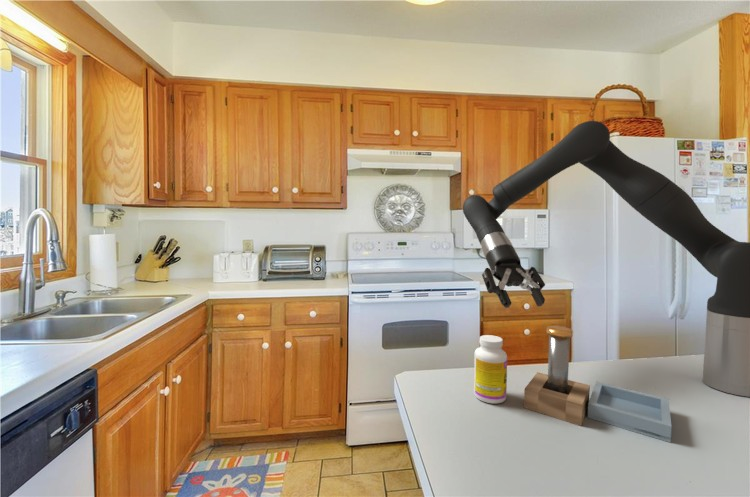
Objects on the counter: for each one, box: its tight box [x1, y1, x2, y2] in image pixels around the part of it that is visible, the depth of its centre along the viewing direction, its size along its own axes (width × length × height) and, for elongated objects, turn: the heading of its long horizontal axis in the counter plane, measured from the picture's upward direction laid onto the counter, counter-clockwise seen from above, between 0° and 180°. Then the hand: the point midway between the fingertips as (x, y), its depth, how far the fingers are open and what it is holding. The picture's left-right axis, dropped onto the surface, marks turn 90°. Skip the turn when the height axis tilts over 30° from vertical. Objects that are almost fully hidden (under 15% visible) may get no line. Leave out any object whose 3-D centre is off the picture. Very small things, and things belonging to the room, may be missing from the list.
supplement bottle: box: [473, 334, 508, 405], centre depth 72 cm, size 7×7×13 cm
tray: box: [587, 381, 672, 444], centre depth 66 cm, size 12×12×3 cm
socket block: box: [523, 372, 591, 427], centre depth 69 cm, size 10×10×4 cm
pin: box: [546, 325, 574, 394], centre depth 69 cm, size 5×5×16 cm
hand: (525, 305), depth 79 cm, fingers open, 8 cm apart
